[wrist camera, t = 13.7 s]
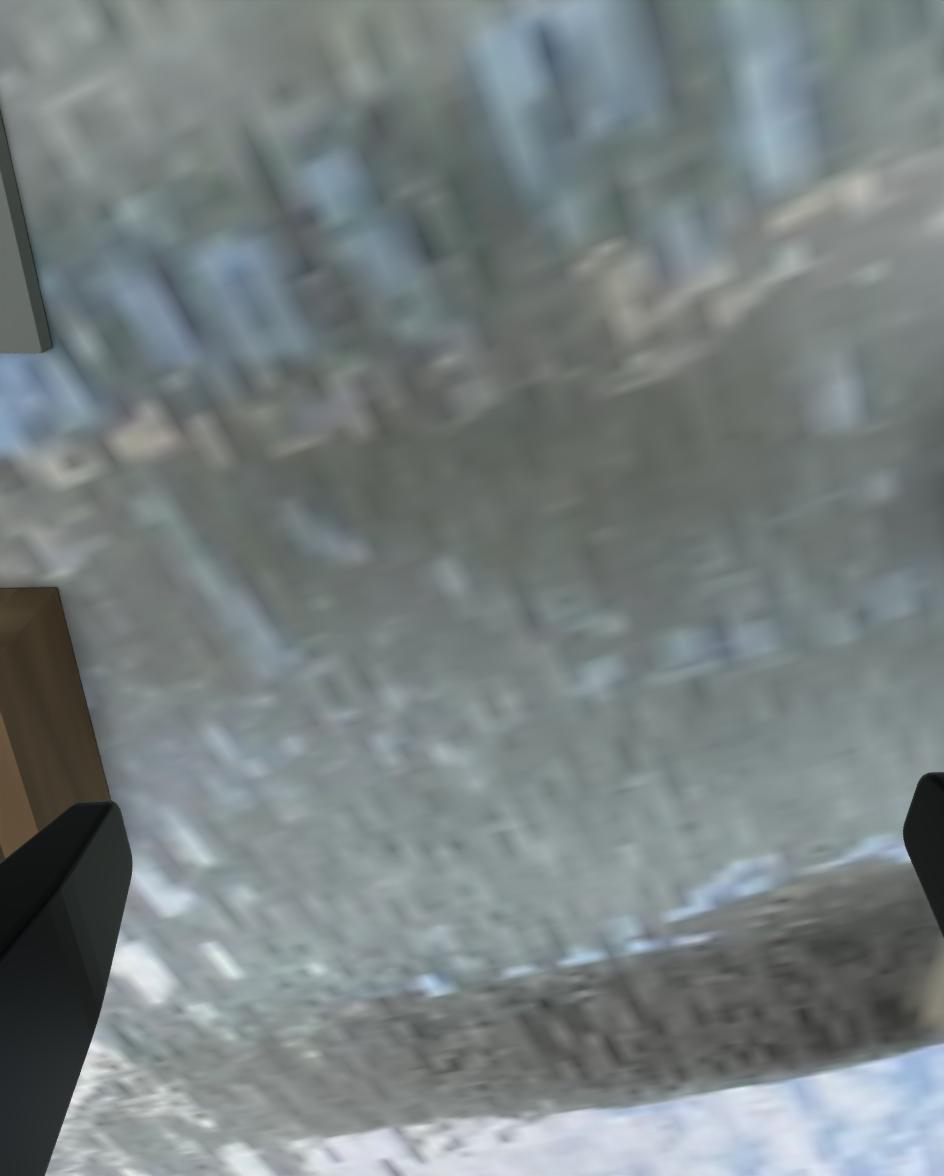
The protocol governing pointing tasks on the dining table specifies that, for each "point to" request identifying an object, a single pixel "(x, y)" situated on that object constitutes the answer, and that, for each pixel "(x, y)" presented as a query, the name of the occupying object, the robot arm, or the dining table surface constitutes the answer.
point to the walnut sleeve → (41, 719)
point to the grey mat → (17, 272)
